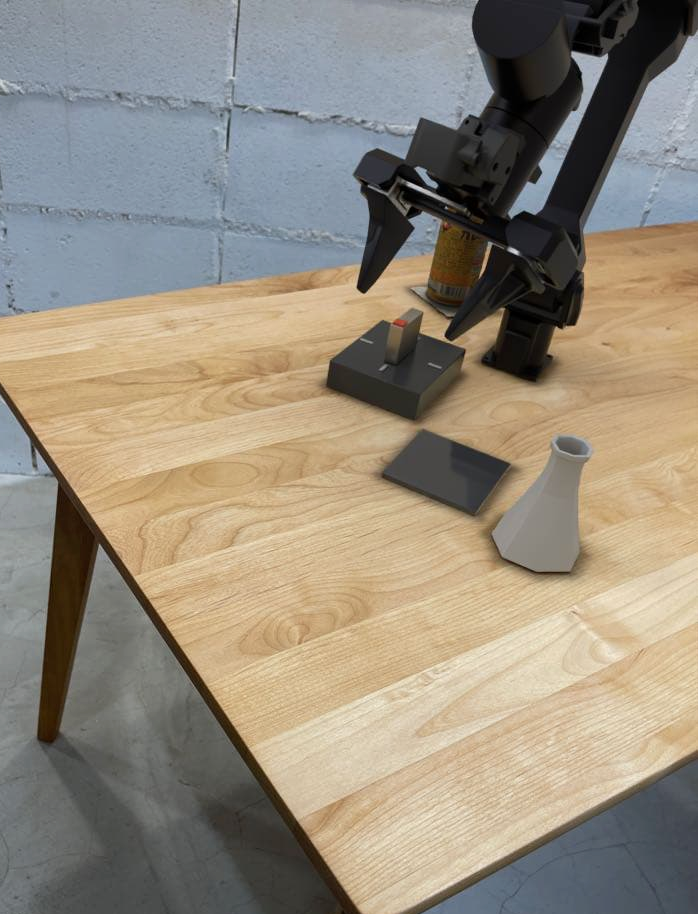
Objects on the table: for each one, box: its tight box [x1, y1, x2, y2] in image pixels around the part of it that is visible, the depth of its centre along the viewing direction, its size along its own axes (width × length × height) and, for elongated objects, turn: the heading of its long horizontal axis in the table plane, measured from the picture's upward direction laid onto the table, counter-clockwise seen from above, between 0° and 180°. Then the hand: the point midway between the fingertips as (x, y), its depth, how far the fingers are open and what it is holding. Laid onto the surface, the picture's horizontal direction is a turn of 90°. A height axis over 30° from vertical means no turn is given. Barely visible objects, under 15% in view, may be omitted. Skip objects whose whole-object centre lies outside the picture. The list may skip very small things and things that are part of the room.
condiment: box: [410, 207, 490, 318], centre depth 101 cm, size 7×8×12 cm
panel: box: [325, 319, 467, 421], centre depth 87 cm, size 12×10×3 cm
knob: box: [384, 307, 425, 365], centre depth 84 cm, size 5×1×4 cm, turn 149°
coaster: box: [380, 428, 512, 517], centre depth 76 cm, size 9×9×1 cm
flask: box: [491, 433, 595, 573], centre depth 66 cm, size 7×7×10 cm
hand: (402, 314), depth 66 cm, fingers open, 9 cm apart
